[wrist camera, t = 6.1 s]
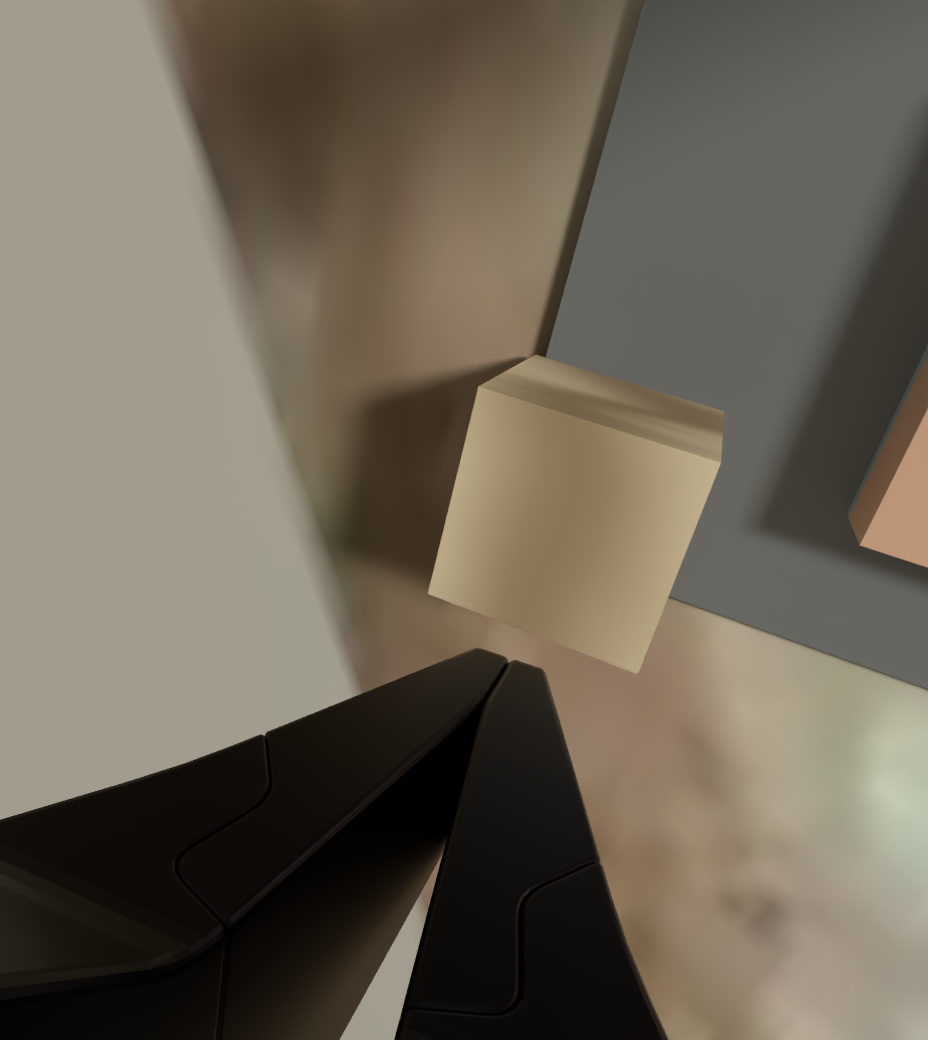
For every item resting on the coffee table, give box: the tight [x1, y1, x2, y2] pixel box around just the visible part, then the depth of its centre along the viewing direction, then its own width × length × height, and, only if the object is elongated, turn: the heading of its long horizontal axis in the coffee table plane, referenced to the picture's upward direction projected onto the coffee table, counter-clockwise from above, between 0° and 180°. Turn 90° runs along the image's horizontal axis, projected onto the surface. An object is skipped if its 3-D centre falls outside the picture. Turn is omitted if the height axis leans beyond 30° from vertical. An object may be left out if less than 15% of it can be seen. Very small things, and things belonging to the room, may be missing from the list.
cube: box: [428, 355, 724, 674], centre depth 16 cm, size 4×4×4 cm
